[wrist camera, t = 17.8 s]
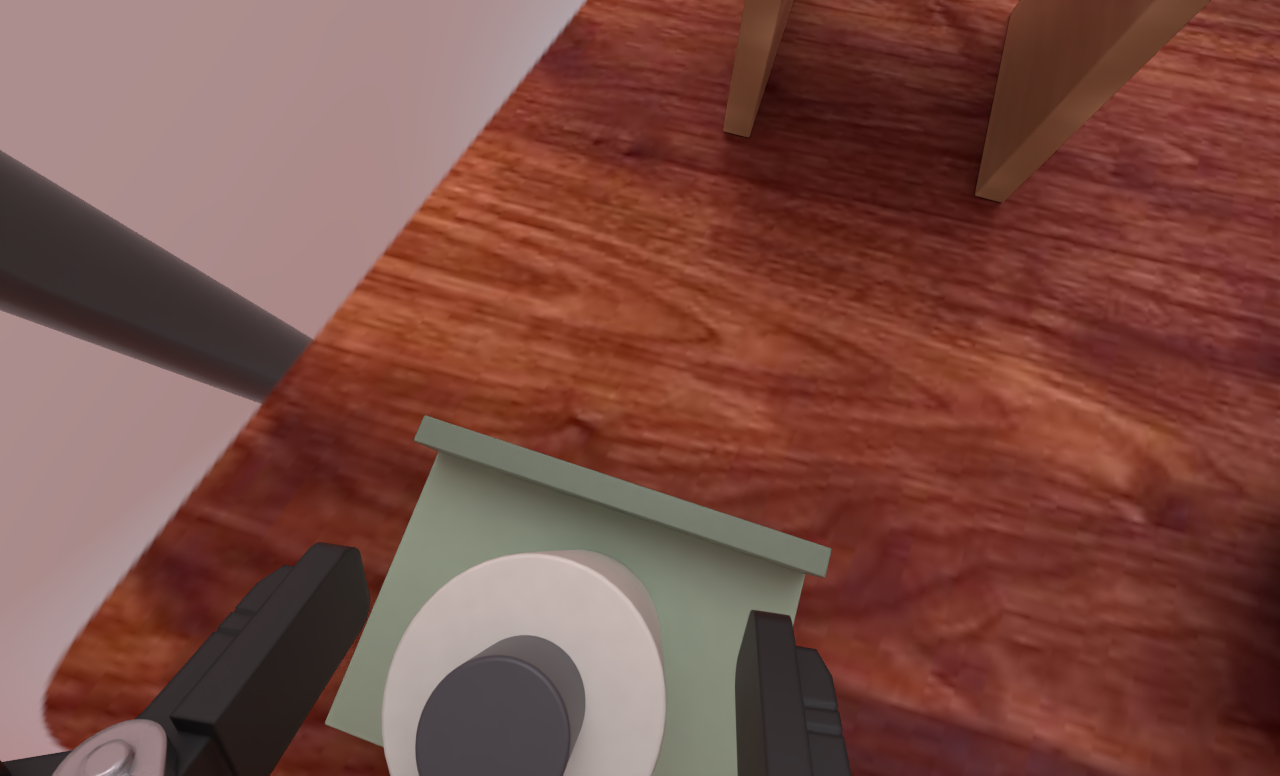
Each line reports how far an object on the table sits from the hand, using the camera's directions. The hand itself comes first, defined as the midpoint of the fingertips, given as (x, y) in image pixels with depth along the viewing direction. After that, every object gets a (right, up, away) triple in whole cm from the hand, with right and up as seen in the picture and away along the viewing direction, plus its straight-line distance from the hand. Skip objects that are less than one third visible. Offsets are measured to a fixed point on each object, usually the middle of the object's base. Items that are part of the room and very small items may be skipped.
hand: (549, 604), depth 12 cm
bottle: (0, -3, +5) cm, 6 cm away
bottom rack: (0, -4, +8) cm, 9 cm away
